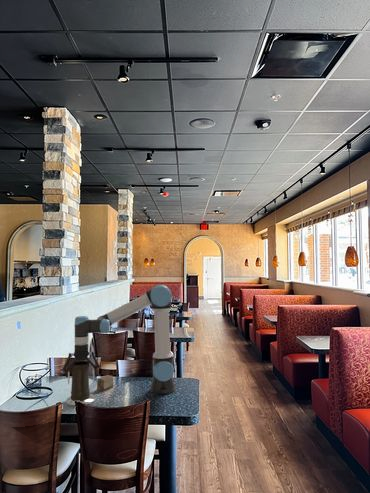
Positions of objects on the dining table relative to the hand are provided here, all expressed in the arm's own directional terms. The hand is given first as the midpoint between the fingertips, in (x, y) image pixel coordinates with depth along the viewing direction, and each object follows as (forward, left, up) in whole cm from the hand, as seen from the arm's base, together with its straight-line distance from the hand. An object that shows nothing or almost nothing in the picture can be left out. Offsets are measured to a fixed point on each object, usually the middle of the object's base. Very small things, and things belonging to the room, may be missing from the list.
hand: (81, 381), depth 215 cm
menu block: (+7, -22, -11) cm, 26 cm away
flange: (0, 0, -11) cm, 11 cm away
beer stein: (0, 0, -10) cm, 10 cm away
